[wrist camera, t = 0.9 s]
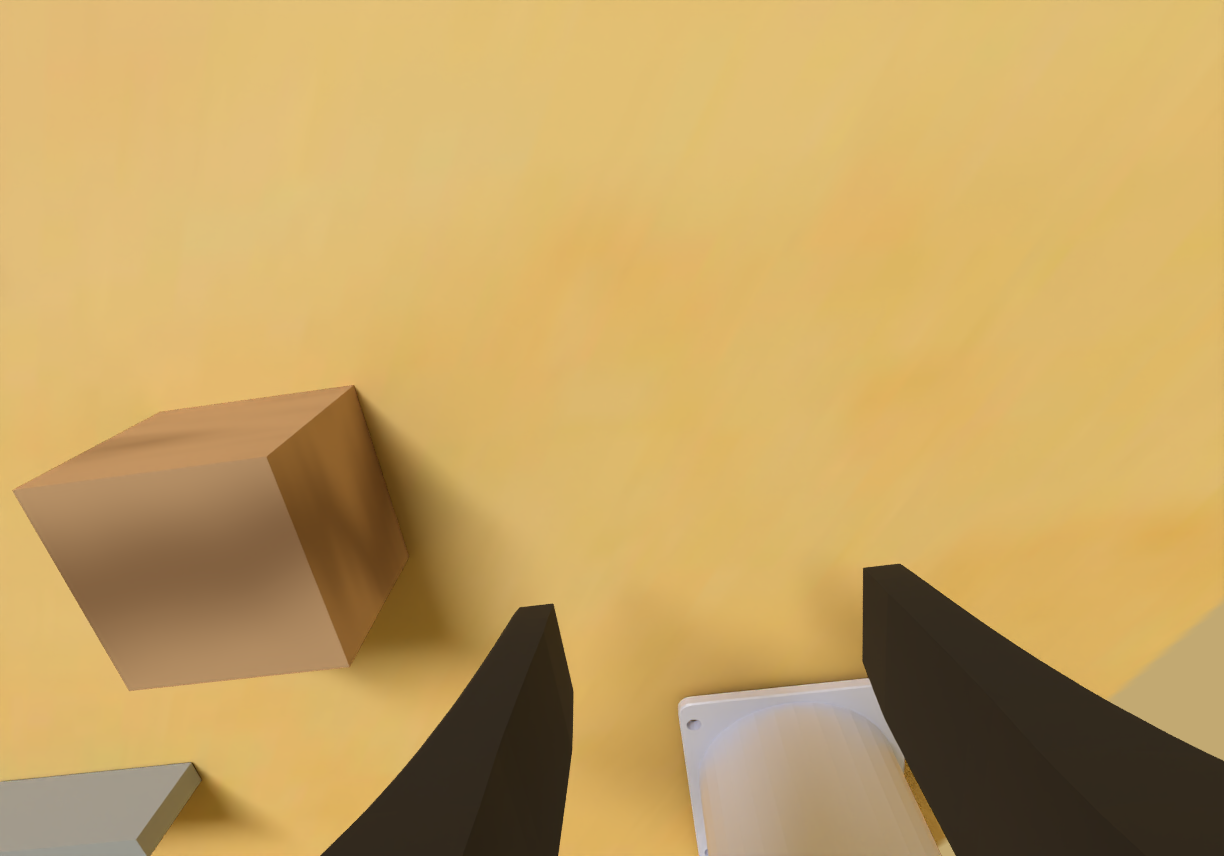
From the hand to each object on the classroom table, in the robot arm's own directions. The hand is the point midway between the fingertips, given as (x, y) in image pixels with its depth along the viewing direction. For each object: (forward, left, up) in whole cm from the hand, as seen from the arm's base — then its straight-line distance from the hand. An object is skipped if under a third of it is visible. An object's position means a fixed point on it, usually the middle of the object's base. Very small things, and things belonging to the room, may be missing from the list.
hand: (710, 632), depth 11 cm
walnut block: (0, +12, -9) cm, 15 cm away
